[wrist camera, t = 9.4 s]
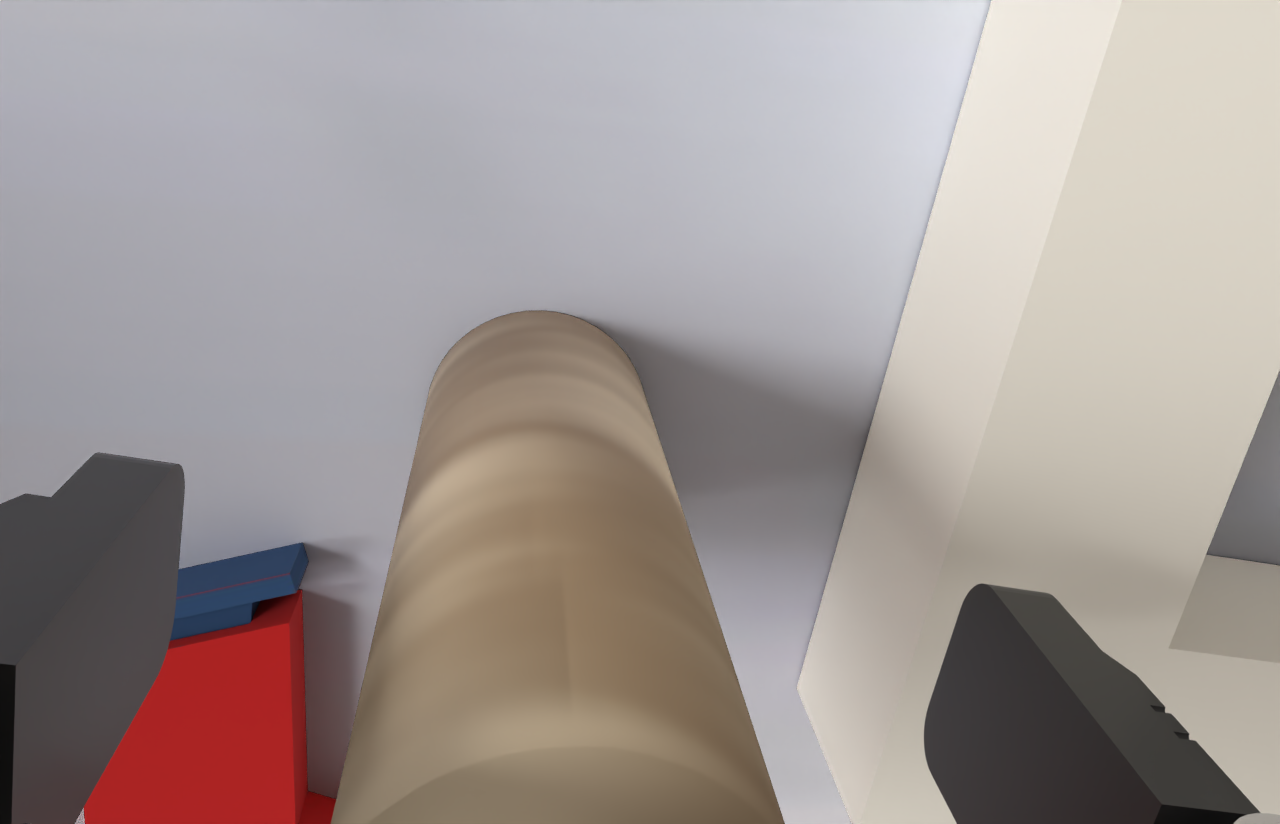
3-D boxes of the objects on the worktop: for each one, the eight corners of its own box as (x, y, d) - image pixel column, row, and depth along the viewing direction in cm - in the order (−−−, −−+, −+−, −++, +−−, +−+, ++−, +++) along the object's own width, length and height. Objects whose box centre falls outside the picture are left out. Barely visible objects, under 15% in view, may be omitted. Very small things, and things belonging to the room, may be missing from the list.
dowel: (412, 500, 17) (279, 1130, 7) (443, 293, 16) (334, 717, 6) (623, 528, 17) (748, 1151, 8) (665, 330, 16) (867, 775, 7)
